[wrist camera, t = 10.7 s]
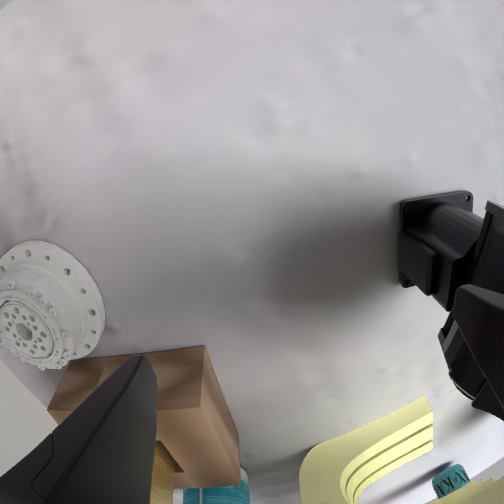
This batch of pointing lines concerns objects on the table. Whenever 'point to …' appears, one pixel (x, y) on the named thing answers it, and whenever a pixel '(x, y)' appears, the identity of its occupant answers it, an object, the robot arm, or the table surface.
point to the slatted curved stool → (380, 460)
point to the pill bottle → (219, 493)
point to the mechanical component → (48, 305)
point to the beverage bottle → (450, 480)
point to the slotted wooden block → (171, 412)
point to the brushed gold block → (162, 475)
